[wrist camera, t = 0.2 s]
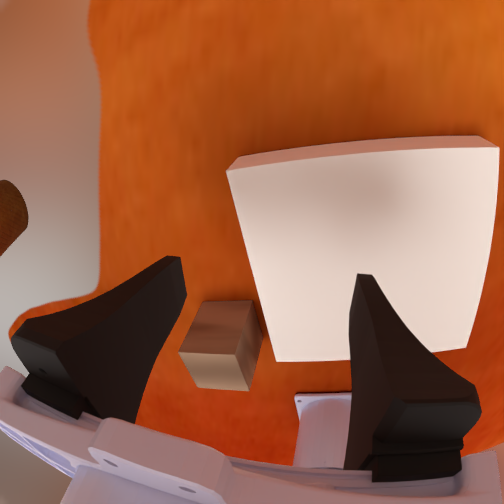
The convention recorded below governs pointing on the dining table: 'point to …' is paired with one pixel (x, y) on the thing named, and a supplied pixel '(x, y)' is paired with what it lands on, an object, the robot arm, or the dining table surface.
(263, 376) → the dining table surface
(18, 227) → the disposable coffee cup
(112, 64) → the dining table surface
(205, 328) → the walnut block
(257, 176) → the white square slab
